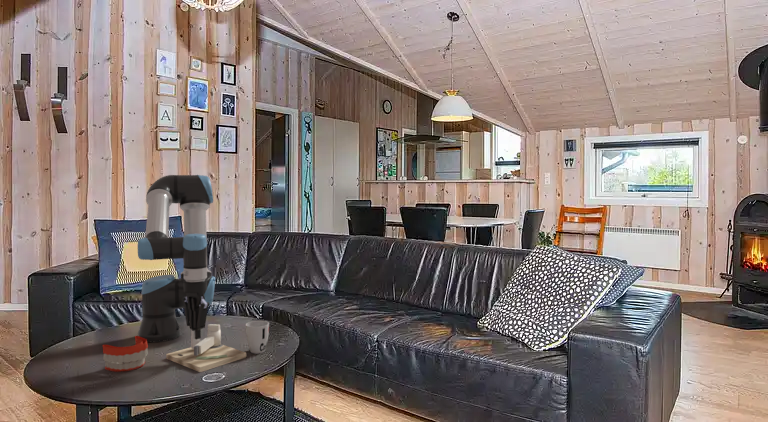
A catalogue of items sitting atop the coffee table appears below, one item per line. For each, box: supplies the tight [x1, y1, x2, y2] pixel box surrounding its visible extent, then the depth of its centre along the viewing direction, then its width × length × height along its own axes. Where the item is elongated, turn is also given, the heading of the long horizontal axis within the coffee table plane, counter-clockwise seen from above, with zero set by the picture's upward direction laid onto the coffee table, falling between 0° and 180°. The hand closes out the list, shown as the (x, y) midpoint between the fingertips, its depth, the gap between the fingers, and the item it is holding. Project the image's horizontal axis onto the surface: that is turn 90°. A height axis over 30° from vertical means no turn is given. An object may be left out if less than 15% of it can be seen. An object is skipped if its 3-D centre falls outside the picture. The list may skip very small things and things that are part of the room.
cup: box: [245, 320, 270, 355], centre depth 187 cm, size 8×8×10 cm
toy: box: [102, 335, 149, 373], centre depth 171 cm, size 12×10×8 cm
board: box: [165, 342, 247, 373], centre depth 181 cm, size 20×18×2 cm
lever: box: [194, 323, 222, 356], centre depth 182 cm, size 17×5×7 cm, turn 173°
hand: (195, 347), depth 180 cm, fingers closed
